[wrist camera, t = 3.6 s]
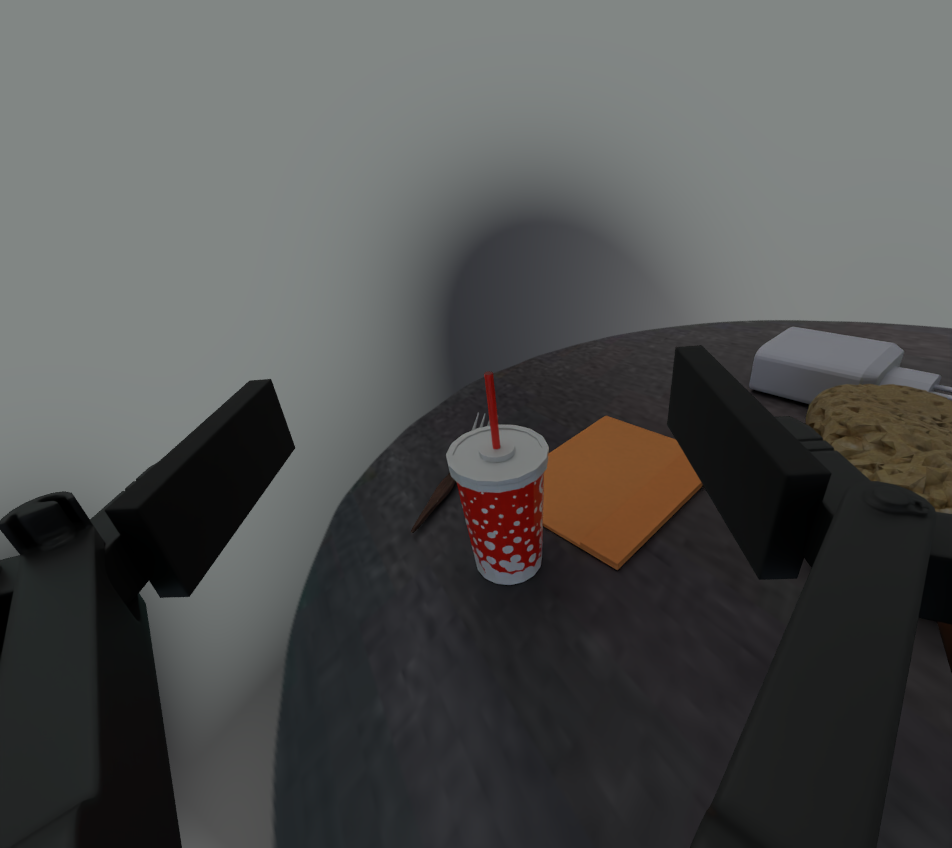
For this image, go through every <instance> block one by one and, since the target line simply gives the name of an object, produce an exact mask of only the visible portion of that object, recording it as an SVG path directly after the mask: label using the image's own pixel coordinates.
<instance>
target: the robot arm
mask: <svg viewBox="0 0 952 848" xmlns="http://www.w3.org/2000/svg"><path fill="white" fill-rule="evenodd" d="M667 425H668V427H669V429H670V430H671V432H672V434H673V435H674V437H675V439H676V440H677V442H678V444H679V445H680V447H681V449H682V450H683V452H684V454H685V456H686V457H687V459H688V461H689V462H690V464H691V466H692V467H693V469H694V471H695V472H696V474H697V476H698V477H699V479H700V481H701V482H702V484H703V486H704V487H705V489H706V491H707V493H708V494H709V496H710V498H711V499H712V501H713V503H714V504H715V506H716V508H717V509H718V511H719V513H720V514H721V516H722V518H723V519H724V521H725V523H726V525H727V526H728V528H729V530H730V531H731V533H732V535H733V536H734V538H735V540H736V541H737V543H738V545H739V546H740V548H741V550H742V551H743V553H744V555H745V556H746V558H747V560H748V562H749V563H750V565H751V567H752V568H753V570H754V572H755V573H756V575H757V577H758V578H759V580H761V579H794V578H797V577H798V574H799V571H800V568H801V565H802V562H803V559H804V558H805V559H806V561H807V562H808V563H809V565H810V566H811V567H812V569H811V571H810V574H809V576H808V578H807V581H806V583H805V585H804V588H803V590H802V592H801V595H800V597H799V600H798V602H797V604H796V607H795V609H794V611H793V614H792V616H791V618H790V621H789V623H788V625H787V628H786V630H785V632H784V635H783V637H782V640H781V642H780V644H779V647H778V649H777V651H776V654H775V656H774V658H773V661H772V663H771V665H770V668H769V670H768V673H767V675H766V677H765V680H764V682H763V684H762V687H761V689H760V691H759V694H758V696H757V698H756V701H755V703H754V705H753V708H752V710H751V713H750V715H749V717H748V720H747V722H746V724H745V727H744V729H743V731H742V734H741V736H740V738H739V741H738V743H737V746H736V748H735V750H734V753H733V755H732V757H731V760H730V762H729V764H728V767H727V769H726V771H725V774H724V776H723V779H722V781H721V783H720V786H719V788H718V790H717V793H716V795H715V797H714V799H713V802H712V804H711V806H710V807H709V809H708V810H707V811H706V813H705V815H704V817H703V819H702V821H701V823H700V826H699V828H698V830H697V832H696V835H695V837H694V839H693V842H692V844H691V846H690V848H876V847H877V841H878V836H879V830H880V825H881V819H882V814H883V808H884V803H885V797H886V792H887V786H888V781H889V776H890V770H891V765H892V759H893V754H894V748H895V743H896V737H897V732H898V726H899V721H900V715H901V710H902V704H903V699H904V693H905V688H906V682H907V677H908V672H909V666H910V661H911V655H912V650H913V644H914V639H915V633H916V628H917V622H918V617H919V618H924V619H928V620H933V621H937V623H938V627H939V630H940V634H941V637H942V641H943V644H944V648H945V651H946V655H947V658H948V662H949V665H950V669H951V672H952V514H948V513H941V512H935V508H934V507H933V506H932V505H931V504H930V503H929V502H928V501H927V500H926V499H925V498H923V497H922V496H920V495H918V494H916V493H915V492H913V491H911V490H908V489H906V488H903V487H900V486H897V485H894V484H889V483H884V482H879V481H870V480H869V479H868V478H867V477H866V476H865V475H864V474H863V473H862V472H860V471H859V470H858V469H857V468H856V467H855V466H854V465H853V464H852V463H850V462H849V461H848V460H847V459H846V458H845V457H844V456H843V455H841V454H840V453H839V452H838V451H835V450H834V447H833V446H831V445H830V444H829V443H828V442H827V441H826V440H824V441H823V437H821V436H820V435H819V434H818V433H817V432H816V431H815V430H814V429H813V428H811V427H810V426H809V425H807V424H805V423H803V422H800V421H798V420H796V419H794V418H792V417H790V416H784V417H774V416H773V415H772V414H771V413H770V412H769V411H768V410H767V409H766V408H765V407H764V406H763V405H762V404H761V403H760V402H759V401H758V400H757V399H756V398H755V397H754V396H753V395H751V394H750V393H749V392H748V391H747V390H746V389H745V388H744V387H743V386H742V385H741V384H740V383H739V382H738V381H737V380H736V379H735V378H734V377H733V376H732V375H731V374H730V373H729V372H728V371H727V370H726V369H725V368H724V367H723V366H722V365H721V364H720V363H719V362H718V361H717V360H716V359H715V358H714V357H713V356H712V355H711V354H710V353H709V352H708V351H707V350H706V349H705V348H704V347H703V346H702V345H700V346H687V347H676V349H675V358H674V367H673V376H672V385H671V394H670V403H669V412H668V421H667ZM294 449H295V446H294V443H293V440H292V437H291V434H290V431H289V429H288V426H287V423H286V420H285V417H284V414H283V412H282V409H281V406H280V403H279V400H278V397H277V394H276V392H275V389H274V386H273V383H272V381H271V379H267V380H254V381H249V382H248V383H246V384H245V385H244V386H243V387H242V388H241V389H240V390H239V391H238V392H236V393H235V394H234V395H233V396H232V397H231V398H230V399H229V400H227V401H226V402H225V403H224V404H223V405H222V406H221V407H220V408H218V410H216V411H215V412H214V413H213V414H212V415H211V416H209V417H208V418H207V419H206V420H205V421H204V422H203V423H202V424H200V425H199V426H198V427H197V428H196V429H195V430H194V431H193V432H192V433H190V434H189V435H188V436H187V437H186V438H185V439H184V440H183V441H181V443H179V444H178V445H177V446H176V447H175V448H174V449H172V450H171V451H170V452H169V453H168V454H167V455H166V456H165V457H163V458H162V459H161V460H160V461H159V462H158V463H156V464H154V465H152V466H151V467H149V468H148V469H147V470H146V471H145V472H143V474H141V475H140V476H139V477H138V478H137V479H136V481H134V482H132V483H131V484H130V485H129V486H128V487H127V488H126V489H125V491H122V492H121V493H120V494H119V495H117V496H116V497H115V498H114V499H113V500H112V501H111V502H110V503H108V504H107V505H106V506H105V507H104V508H103V509H102V510H101V511H99V512H98V513H97V514H96V515H95V516H94V517H93V518H91V519H89V518H88V516H87V515H86V514H85V512H84V510H83V509H82V507H81V506H80V504H79V503H78V502H77V500H76V498H75V497H74V496H73V494H72V493H69V492H56V493H51V494H47V495H44V496H41V497H38V498H35V499H33V500H31V501H28V502H26V503H24V504H22V505H20V506H19V507H17V508H15V509H14V510H12V511H11V512H9V513H8V514H7V515H6V516H5V517H3V518H2V519H1V520H0V530H1V531H2V533H4V535H5V536H6V538H7V539H8V540H9V541H10V543H11V544H12V545H13V546H14V547H15V549H16V550H17V551H18V552H19V554H20V555H19V556H15V557H11V558H7V559H3V560H0V848H182V846H181V839H180V832H179V825H178V819H177V812H176V805H175V799H174V791H173V785H172V778H171V772H170V764H169V758H168V751H167V744H166V738H165V731H164V724H163V717H162V710H161V703H160V697H159V690H158V683H157V676H156V670H155V663H154V657H153V650H152V643H151V636H150V629H149V622H148V617H147V616H148V615H147V609H146V604H145V602H144V600H143V598H142V597H141V596H140V594H139V592H140V591H141V589H142V588H143V587H144V586H145V585H146V583H147V582H148V581H150V582H151V584H152V586H153V587H154V589H155V590H156V592H157V593H158V595H159V596H160V598H163V597H190V595H191V594H192V592H193V591H194V589H195V588H196V587H197V585H198V584H199V582H200V581H201V580H202V578H203V577H204V576H205V574H206V573H207V571H208V570H209V569H210V567H211V566H212V564H213V563H214V562H215V560H216V559H217V557H218V555H220V553H221V552H222V550H223V549H224V547H225V546H226V545H227V543H228V542H229V540H230V539H231V537H232V536H233V535H234V533H235V532H236V531H237V529H238V528H239V526H240V525H241V524H242V522H243V521H244V519H245V518H246V517H247V515H248V514H249V512H250V511H251V510H252V508H253V507H254V505H255V504H256V502H257V501H258V500H259V498H260V497H261V495H262V494H263V493H264V491H265V490H266V488H267V487H268V486H269V484H270V483H271V481H272V480H273V478H274V477H275V475H276V474H277V473H278V472H279V470H280V469H281V467H282V466H283V465H284V463H285V462H286V460H287V459H288V457H289V456H290V455H291V453H292V452H293V450H294Z"/></svg>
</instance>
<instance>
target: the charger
mask: <svg viewBox="0 0 952 848" xmlns="http://www.w3.org/2000/svg"><path fill="white" fill-rule="evenodd" d="M903 355H904V351H903V350H902V349H901V348H900V347H898V346H897V345H896V344H895V343H889V342H883V341H877V340H871V339H865V338H859V337H853V336H847V335H840V334H834V333H828V332H822V331H816V330H810V329H804V328H798V327H790V328H789V329H787V330H786V331H784V332H783V333H781V334H779V335H778V336H776V337H775V338H773V339H772V340H770V341H769V342H767V343H766V344H764V345H763V346H762V347H761V348H760V349H759V350H758V351H757V353H756V355H755V358H754V363H753V368H752V373H751V378H750V383H749V388H750V389H753V390H757V391H761V392H765V393H769V394H772V395H776V396H780V397H784V398H787V399H791V400H795V401H799V402H803V403H806V404H810V403H811V402H812V401H813V399H814V398H815V397H816V396H817V395H818V394H819V393H821V392H822V391H824V390H826V389H829V388H832V387H835V386H838V385H845V384H852V385H859V384H862V385H864V384H875V385H878V386H880V385H887V384H895V385H902V386H908V387H913V388H917V389H921V390H926V391H927V392H930V393H934V394H937V395H940V396H943V397H946V398H947V399H948V400H951V401H952V396H951V395H946V394H941V393H937V392H934V391H935V389H936V390H941V391H946V392H950V393H952V387H947V386H942V385H938V384H939V382H940V380H941V376H940V375H938V374H932V373H927V372H922V371H917V370H912V369H906V368H901V367H899V366H900V363H901V361H902V358H903Z"/></svg>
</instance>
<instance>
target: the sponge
mask: <svg viewBox="0 0 952 848" xmlns="http://www.w3.org/2000/svg"><path fill="white" fill-rule="evenodd" d="M806 424H807V425H809V426H810V427H811V428H813V429H814V430H815V431H816V432H817V433H818V434H819V435H820V436H821V437H823V441H824V440H826V441H827V442H828V443H829V444H830V445H831V446H833V447H834V450H835V451H838V452H839V453H840V454H841V455H843V456H844V457H845V458H846V459H847V460H848V461H849V462H850V463H852V464H853V465H854V466H855V467H856V468H857V469H858V470H859V471H860V472H862V473H863V474H864V475H865V476H866V477H867V478H868V479H869V480H870V481H879V482H884V483H889V484H894V485H897V486H900V487H903V488H906V489H908V490H911V491H913V492H915V493H916V494H918V495H920V496H922V497H923V498H925V499H926V500H927V501H928V502H929V503H930V504H931V505H932V506H933V507H934V508H935V512H941V513H948V514H952V401H951V400H948V399H947V398H946V397H943V396H940V395H937V394H934V393H930V392H927V391H926V390H921V389H917V388H913V387H908V386H902V385H895V384H887V385H880V386H878V385H875V384H864V385H862V384H859V385H852V384H845V385H838V386H835V387H832V388H829V389H826V390H824V391H822V392H821V393H819V394H818V395H817V396H816V397H815V398H814V399H813V401H812V402H811V403H810V405H809V408H808V411H807V415H806Z"/></svg>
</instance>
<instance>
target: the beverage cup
mask: <svg viewBox="0 0 952 848" xmlns="http://www.w3.org/2000/svg"><path fill="white" fill-rule="evenodd" d="M484 376H485V385H486V394H487V402H488V411H489V420H490V426H487V427H482V428H477V429H475V430H473V431H470V432H468V433H466V434H463V435H462V436H460V437H459V438H458V439H457V440H456V441H454V442H453V443H452V444H451V446H450V448H449V450H448V452H447V454H446V456H447V461H448V466H449V470H450V474H451V477H452V478H453V479H454V480H455V481H456V482H457V486H458V490H459V494H460V499H461V503H462V507H463V511H464V515H465V519H466V523H467V527H468V532H469V536H470V540H471V544H472V548H473V552H474V556H475V561H476V565H477V569H478V571H479V572H480V573H481V574H482V576H483V577H484V578H485V579H487V580H489V581H492V582H494V583H496V584H504V585H513V584H517V583H522V582H524V581H526V580H528V579H529V578H531V577H533V576H534V575H535V574H536V572H537V571H538V569H539V568H540V567H541V560H542V537H543V496H544V471H545V470H546V469H547V464H548V451H549V447H548V445H547V443H546V441H545V440H544V438H543V436H541V435H540V434H538V433H536V432H535V431H533V430H531V429H529V428H525V427H520V426H516V425H498V418H497V408H496V398H495V389H494V379H493V372H485V373H484Z"/></svg>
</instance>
